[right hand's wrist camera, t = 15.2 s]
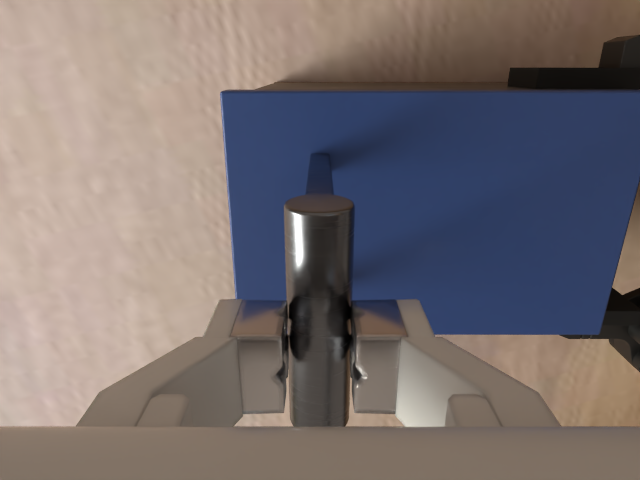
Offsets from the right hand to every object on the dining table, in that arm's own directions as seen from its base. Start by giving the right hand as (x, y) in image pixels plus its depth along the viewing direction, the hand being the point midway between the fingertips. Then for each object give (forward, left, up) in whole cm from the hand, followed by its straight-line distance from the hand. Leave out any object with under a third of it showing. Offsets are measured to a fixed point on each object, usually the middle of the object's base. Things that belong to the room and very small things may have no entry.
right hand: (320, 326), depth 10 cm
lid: (+2, +4, -8) cm, 9 cm away
